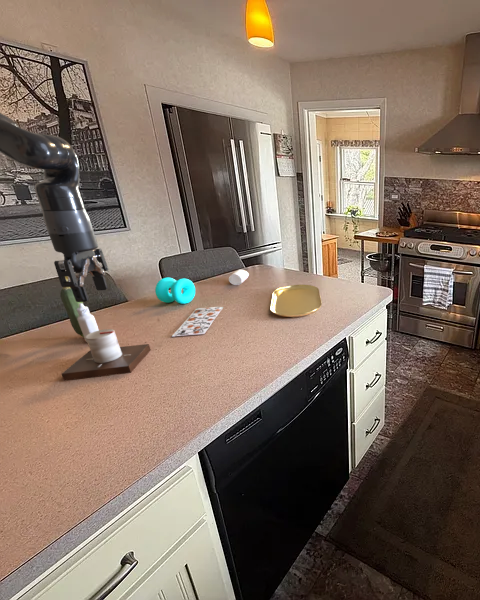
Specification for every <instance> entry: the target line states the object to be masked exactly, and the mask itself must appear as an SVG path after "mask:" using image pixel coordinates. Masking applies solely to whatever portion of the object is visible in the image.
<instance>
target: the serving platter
mask: <svg viewBox="0 0 480 600" xmlns="http://www.w3.org/2000/svg"><path fill="white" fill-rule="evenodd" d="M322 305H323V302H322V297H321V293H320V289H319V288H318V286H316V285H311V284H291V285H285V286H282V287H279V288H277V289H275V290H274V291H273V292H272V295H271V302H270V308H269V311H271V312H272V313H273V315H276V316H278V317H283V318H299V317H304V316H309V315H311V314H314V313H315V312H317V311H319V310H320V309H321V307H322Z"/></svg>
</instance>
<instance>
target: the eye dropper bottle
mask: <svg viewBox="0 0 480 600" xmlns="http://www.w3.org/2000/svg"><path fill="white" fill-rule="evenodd" d="M77 312H78V314H79V316H78V322H79V325H80V328H81V330H82V333H83V336H84V337H83V339H84V341H85V342H86V343H87V340H86V336H87V335H88V334H90V333H92V332H95V331H99V330H100V329H99V326H98V323H97V321H96V317H95V316H94V315H93V314H91V311H90V309H89V307H88V306H85V305H84V303H83V304H82V303H80V304H79V308H77Z"/></svg>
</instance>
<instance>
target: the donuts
mask: <svg viewBox="0 0 480 600" xmlns="http://www.w3.org/2000/svg"><path fill="white" fill-rule="evenodd" d="M169 289H170V291H169ZM154 290H155V291H154V292H155V296H156V298H157V299H158V300H159V301H160V302H161V303H166V304H170V303H173V302H176V303H178V304H180V305H186V304H189V303H190V302H192V301H193V299H194V298H195V296H196V287H195V284H194V282H193V281H192V280H191V279H188V278H185V277H184V278H178V279H177V280H176V279H174V278H172V277H167V276H166V277H163V278H161V279H159V280H158V282H157V283H156V285H155V289H154Z"/></svg>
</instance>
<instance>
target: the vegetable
mask: <svg viewBox="0 0 480 600" xmlns="http://www.w3.org/2000/svg"><path fill="white" fill-rule="evenodd" d="M65 278H66V281H68V277H67V276H65ZM59 296H60V299H61V302H62V305H63V307H64V309H65V311H66V313H67V317H68V319H69V322H70V325H71V327H72V328H73V330H74V332H75V334H77V335H78V336H80V337H82V338H84V336H83V333H82V330H81V328H80V325H79V322H78V316H79V314H78V312H77V308H79V304H80V303H82V304H83V305H84V302H77V301H76V300H75V297H74V295H73V292H72V289H71V288H70V287H62V289H61V290H60V295H59Z"/></svg>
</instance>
